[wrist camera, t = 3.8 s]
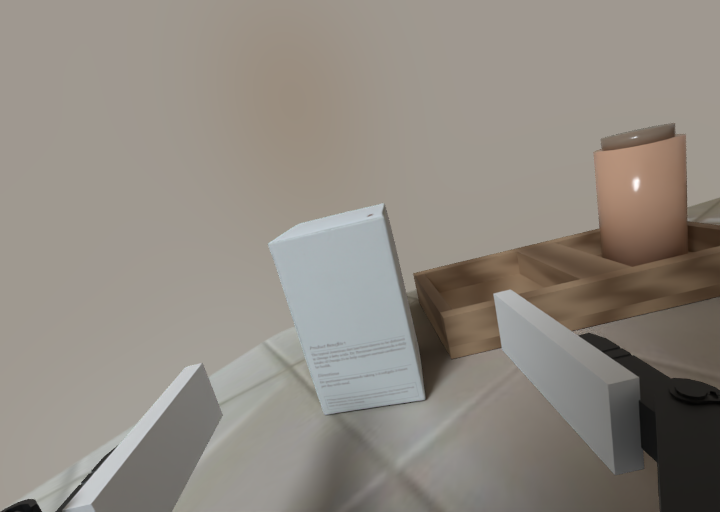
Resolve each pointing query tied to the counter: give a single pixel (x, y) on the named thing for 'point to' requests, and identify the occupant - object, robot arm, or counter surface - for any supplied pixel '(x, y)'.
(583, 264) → the walnut two-slot caddy
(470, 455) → the counter surface
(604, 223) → the terracotta jar
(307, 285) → the supplement box
